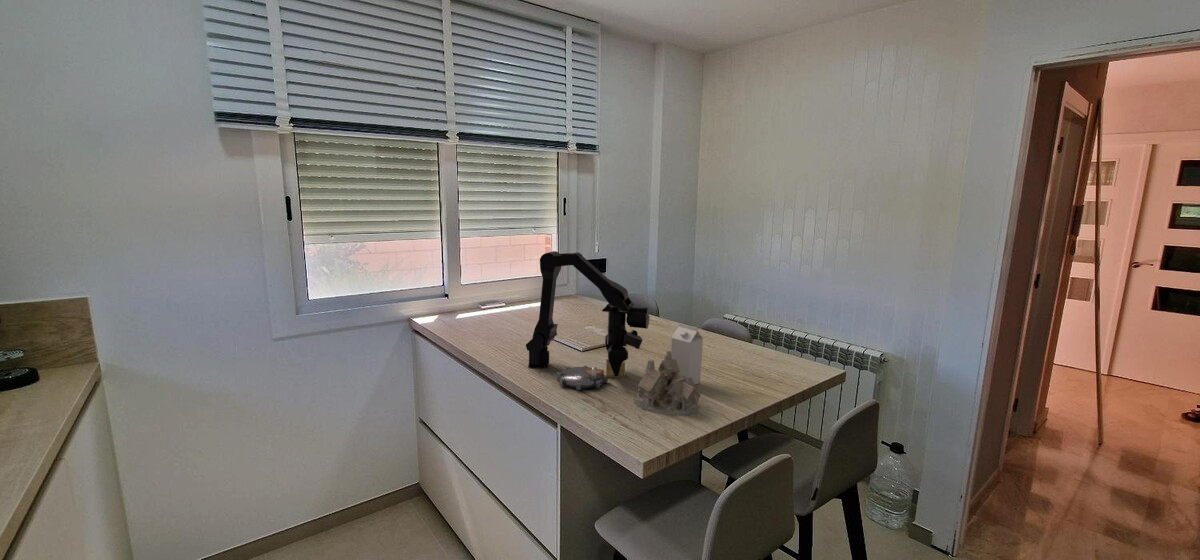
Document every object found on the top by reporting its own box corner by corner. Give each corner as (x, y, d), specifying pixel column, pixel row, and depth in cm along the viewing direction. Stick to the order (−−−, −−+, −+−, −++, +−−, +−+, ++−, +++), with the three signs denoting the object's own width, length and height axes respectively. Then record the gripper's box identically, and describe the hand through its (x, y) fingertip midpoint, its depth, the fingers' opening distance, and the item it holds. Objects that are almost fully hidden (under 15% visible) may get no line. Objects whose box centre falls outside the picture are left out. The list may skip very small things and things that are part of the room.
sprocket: (576, 394, 140) (577, 375, 139) (546, 377, 153) (546, 360, 152) (618, 382, 150) (619, 364, 149) (586, 367, 163) (587, 351, 162)
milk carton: (682, 377, 158) (685, 321, 155) (700, 383, 153) (704, 326, 150) (668, 382, 153) (672, 325, 150) (687, 388, 148) (691, 329, 145)
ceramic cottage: (628, 397, 140) (633, 349, 137) (676, 393, 146) (682, 346, 143) (653, 424, 126) (660, 371, 123) (705, 417, 132) (713, 367, 129)
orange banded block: (606, 377, 156) (606, 362, 155) (605, 373, 160) (606, 359, 159) (624, 377, 157) (625, 362, 156) (623, 373, 160) (623, 359, 159)
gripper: (645, 333, 147) (643, 381, 149) (637, 318, 165) (635, 361, 167) (609, 333, 146) (607, 381, 148) (605, 318, 164) (604, 361, 167)
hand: (615, 371), depth 158 cm, fingers open, 9 cm apart
